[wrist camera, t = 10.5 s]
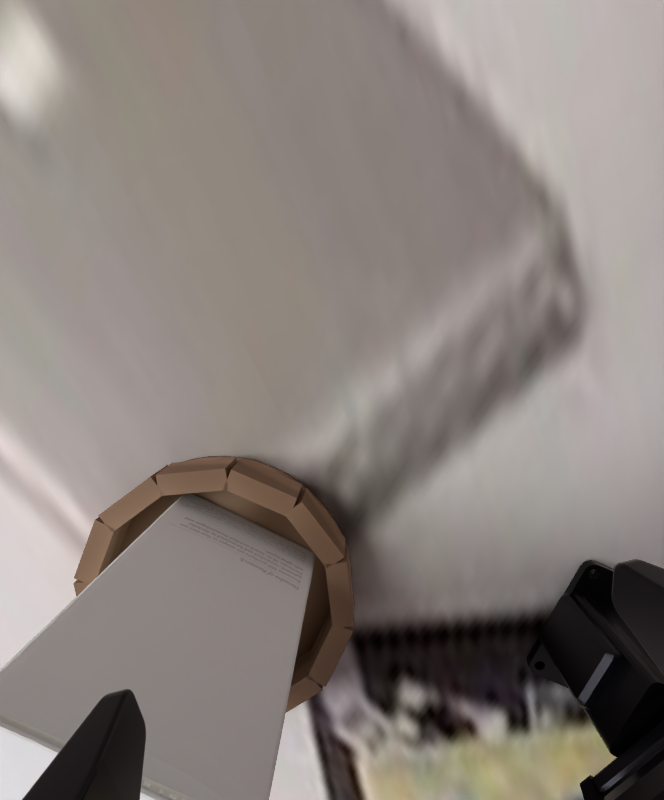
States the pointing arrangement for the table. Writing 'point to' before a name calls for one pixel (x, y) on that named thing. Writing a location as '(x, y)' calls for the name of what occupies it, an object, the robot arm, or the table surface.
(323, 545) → the brown faceted round ring
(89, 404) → the table surface
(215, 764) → the supplement box
